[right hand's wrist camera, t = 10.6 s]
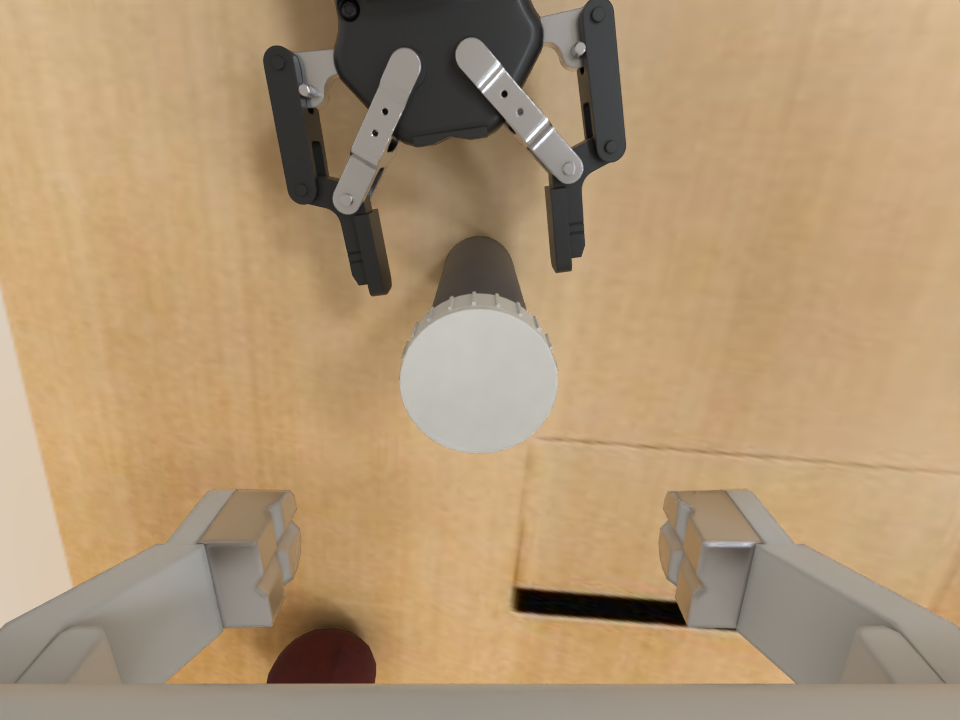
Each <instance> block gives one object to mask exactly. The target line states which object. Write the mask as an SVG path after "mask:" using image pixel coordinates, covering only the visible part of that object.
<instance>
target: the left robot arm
mask: <svg viewBox="0 0 960 720" xmlns="http://www.w3.org/2000/svg"><path fill="white" fill-rule="evenodd" d="M335 4H336V9H337V15H338V34H337V40H336V43H335V46H334V49H328V50H316V51H304V52H292V51H290V50H288V49H286V48H284V47H282V46H272V47H270V48H269V49H267V51H266V52H265V54H264V58H263V63H264V69H265V74H266V79H267V84H268V90H269V95H270V100H271V105H272V111H273V116H274V121H275V126H276V131H277V137H278V142H279V147H280V152H281V158H282V163H283V168H284V173H285V178H286V184H287V189H288V193H289V195H290V197H291V199H292V200H293V201H295V202H296V203H298V204H303V205H305V204H310V205H315V206H319V207H324V208H327V209H330V210H332V211H333V212H334V213H335V214H336V215H337V216H338V218H339V220H340V222H341V226H342V231H343V235H344V240H345V244H346V249H347V253H348V258H349V262H350V267H351V271H352V276H353V277H354V279H355V280H356V282H357V283H358V285H366V284H368V289H369V292H370V295H371V296H379V295H387V294H388V292H389V290H390V289H391V286H392V282H391V275H390V270H389V265H388V259H387V254H386V249H385V244H384V239H383V234H382V229H381V224H380V218H379V213H378V209H373V210H372V206H371V200H372V197H373V195H374V193H375V191H376V189H377V187H378V185H379V183H380V181H381V179H382V177H383V174H384V172H385V170H386V169H387V167H388V166H389V164H390V163H391V161H392V159H393V157H394V155H395V153H396V151H397V148H398V146H399V144H400V142H403V143H405V144H407V145H411V146H414V147H424V146H431V145H437V144H439V143H441V142H443V141H445V140H448V139H450V138H461V139H468V140H473V139H480V138H487V137H488V136H489V135H491V134H493V133H495V132H496V131H497V130H498V129H499V128H500V127H501V126H502V125H504V126H505V127H506V128H507V129H508V130H509V131H510V133H511V134H512V135H513V136H514V137H515V138H516V139H517V140H518V141H519V143H520V144H521V145H522V146H523V147H524V148H525V149H526V150H527V151H528V152H529V153H530V154H531V155H532V156H533V157H534V158H535V159H536V161H537V162H538V163H539V164H540V165H541V166H542V167H543V168H544V169H545V171H546V172H547V173H548V175H549V186H545V198H546V209H547V221H548V232H549V244H550V256H551V263H552V267H553V269H554V271H555V272H556V273H561V272H568V271H572V260H571V258H576V257H581V256H582V253H583V250H584V247H585V238H584V224H583V206H582V184H583V182H584V180H585V178H586V177H587V176H588V175H589V174H590V173H591V172H593V171H595V170H596V169H598V168H600V167H602V166H604V165H606V164H608V163H610V162H615V161H617V160H619V159H620V158H621V157H622V156H623V154H624V152H625V149H626V139H625V128H624V117H623V107H622V96H621V85H620V74H619V63H618V52H617V41H616V30H615V19H614V10H613V6H612V4H611V2H610V1H609V0H589V1H588V2H587V4H586V5H584V6H583V7H582V8H579V9H575V10H570V11H566V12H561V13H557V14H552V15H548V16H544V17H540V16H539V15H538V13H537V11H536V10H535V8H534V6H533V4H532V2H531V0H335ZM543 47H550V48H552V49H554V50H555V51H556V53H557V54H558V56H559V60H560V63H561V65H562V66H563V67H564V68H565V69H566V70H568V71H577V76H578V84H579V93H580V101H581V110H582V119H583V127H584V136H585V140H584V141H582V142H580V143H579V144H577V145H575V146H573V147H570V146H569V145H568V144H567V143H566V142H565V140H564V139H563V138H562V137H561V136H560V135H559V133H558V132H557V131H556V130H555V129H554V128H553V126H552V124H551V123H550V121H549V120H548V119H547V117H546V116H545V115H544V114H543V113H542V112H541V110H540V109H539V108H538V107H537V106H536V105H535V104H534V102H533V101H532V100H531V99H530V98H529V97H528V95H527V94H526V93H525V92H524V91H523V90H522V88H523V86H524V84H525V82H526V80H527V78H528V76H529V74H530V72H531V70H532V68H533V66H534V64H535V62H536V61H537V59H538V57H539V55H540V53H541V50H542V48H543ZM337 78H340V79H341V80H342V81H343V83H344V84H345V85H346V86H347V87H348V88H349V89H350V90H351V91H352V92H353V93H354V94H355V95H356V97H357V98H358V99H359V100H360V101H361V102H362V103H363V104H364V105H365V106H366V107H367V108H368V109H369V110H368V112H367V114H366V116H365V119H364V121H363V123H362V125H361V127H360V130H359V132H358V134H357V136H356V139H355V141H354V143H353V145H352V148H351V152H350V158H349V160H348V162H347V165H346V167H345V169H344V171H343V173H342V176H341V178H340V179H338V178H334V177H330V176H329V172H328V166H327V160H326V154H325V148H324V142H323V136H322V130H321V123H320V117H319V111H318V109H322V108H324V107H325V106H326V105H327V104H328V102H329V98H330V87H331V85H332V83H333V81H335V80H336V79H337Z"/></svg>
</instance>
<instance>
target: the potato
mask: <svg viewBox="0 0 960 720" xmlns="http://www.w3.org/2000/svg"><path fill="white" fill-rule="evenodd" d="M375 677H376V662H375V660H374V657H373V654H372V652H371V650H370V647H369V646H368V645H367V644H366V643H365V642H364V641H363V640H362V639H361V638H359V637H358V636H356V635H354V634H352V633H350V632H348V631H343V630H339V629H321V630H313V631H311V632H309V633H306V634H304V635H302V636H300V637H298V638H296V639H295V640H294V641H292V642H291V643H290V644H289V645H288V646H287V647H286V648H285V649H284V650H283V651H282V652H281V654H280V655H279V657H278V658H277V660H276V661H275V663H274V665H273V667H272V668H271V670H270V672H269V674H268V679H267V684H375Z"/></svg>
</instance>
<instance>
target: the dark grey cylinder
mask: <svg viewBox="0 0 960 720" xmlns="http://www.w3.org/2000/svg"><path fill="white" fill-rule="evenodd" d="M472 292H476V294H478V293H480V294H491V295H495V294H496V293H497V294H499V296H500V297H503V298H506V299H508V300H511V301H513V302H515V303H517V302H519V303H520V305H521V307H523V308H524V309H525V310H526V307H525V303H524V300H523V296H522V293H521V290H520V286H519V283H518V279H517V276H516V273H515V269H514V266H513V263H512V259H511V257H510V255H509V253H508V252H507V250H506V249H505V248H504V247H503V246H502V245H501V244H500V243H498V242H497V241H495V240H493V239H490V238H487V237H471V238H468V239H465V240H463V241H461V242H460V243H458V244H457V245H456V246H455V247H454V248H453V249H452V250H451V252H450V253H449V255H448V257H447V260H446V263H445V266H444V270H443V273H442V276H441V280H440V283H439V286H438V290H437V293H436V296H435V300H434V303H433V307H434V308H435V307H436V306H438V305H439V304H441V303H443V302H445V301H447V300H449V299H450V297H451V296H453V297H454V298H455V297H458V296H462V295H467V294H472Z"/></svg>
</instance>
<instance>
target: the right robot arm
mask: <svg viewBox="0 0 960 720" xmlns="http://www.w3.org/2000/svg"><path fill="white" fill-rule="evenodd" d="M296 510H297V507H296V502H295V496H294V494H293V493H292V492H291V491H290V490H249V489H240V490H237V489H214V490H211V491H208V492H207V493H206V494H205V495H204V497H203V498H202V499H201V500H200V501H199V503H198V504H197V505H196V506H195V508H194V509H193V510H192V511H191V513H190V514H189V515H188V516H187V518H186V519H185V520H184V521H183V522H182V524H181V525H180V526H179V527H178V529H177V530H176V531H175V532H174V534H173V535H172V536H171V537H170V539H169V540H168V541H167V542H166V543H165V544H156V545H154V546H152V547H150V548H148V549H146V550H144V551H143V552H141V553H139V554H137V555H135V556H133V557H131V558H129V559H127V560H125V561H124V562H122V563H120V564H118V565H116V566H114V567H112V568H110V569H108V570H106V571H105V572H103V573H101V574H99V575H97V576H95V577H93V578H91V579H89V580H87V581H85V582H84V583H82V584H80V585H78V586H76V587H74V588H72V589H70V590H68V591H67V592H65V593H63V594H61V595H59V596H57V597H55V598H53V599H51V600H49V601H47V602H46V603H44V604H42V605H40V606H38V607H36V608H34V609H32V610H30V611H28V612H27V613H25V614H23V615H21V616H19V617H17V618H15V619H13V620H11V621H9V622H7V623H6V624H5V625H4V626H3V627H2V628H1V629H0V720H960V628H959V627H958V626H957V625H956V624H954V623H952V622H950V621H948V620H946V619H944V618H943V617H941V616H939V615H937V614H935V613H933V612H931V611H929V610H927V609H926V608H924V607H922V606H920V605H918V604H916V603H914V602H912V601H910V600H908V599H907V598H905V597H903V596H901V595H899V594H897V593H895V592H893V591H891V590H889V589H888V588H886V587H884V586H882V585H880V584H878V583H876V582H874V581H872V580H871V579H869V578H867V577H865V576H863V575H861V574H859V573H857V572H855V571H853V570H852V569H850V568H848V567H846V566H844V565H842V564H840V563H838V562H836V561H834V560H833V559H831V558H829V557H827V556H825V555H823V554H821V553H819V552H817V551H816V550H814V549H812V548H810V547H808V546H806V545H804V544H795V543H794V542H793V541H792V540H791V539H790V537H789V536H788V535H787V534H786V532H785V531H784V530H783V529H782V527H781V526H780V525H779V524H778V523H777V521H776V520H775V519H774V518H773V516H772V515H771V514H770V513H769V511H768V510H767V509H766V508H765V507H764V505H763V504H762V503H761V502H760V500H759V499H758V498H757V497H756V495H755V494H754V493H753V492H752V491H750V490H748V489H726V490H704V491H668V492H667V494H666V497H665V500H664V507H663V510H664V512H665V514H666V516H667V518H668V521H667V522H666V523H665V524H664V525H663V526H662V527H661V528H660V535H659V555H660V561H661V565H662V569H663V571H664V573H665V576H666V578H667V580H669V581H670V582H672V583H673V584H674V585H676V586H677V588H676V594H675V599H676V601H677V603H678V606H679V608H680V610H681V612H682V615H683V617H684V619H685V621H686V623H687V626H688V627H707V628H737V630H736V631H737V632H739V633H740V634H741V635H742V636H743V637H744V638H745V639H746V640H748V641H749V642H750V643H751V644H752V645H753V646H754V647H756V648H757V649H758V650H759V651H760V652H761V653H762V654H763V655H765V656H766V657H767V658H768V659H769V660H770V661H771V662H773V663H774V664H775V665H776V666H777V667H778V668H779V669H780V670H782V671H783V672H784V673H785V674H786V675H787V676H788V677H789V678H791V679H792V680H793V681H794V682H795V683H796V684H164V683H165V682H166V681H167V680H168V679H170V678H171V677H172V676H173V675H174V674H175V673H176V672H177V671H179V670H180V669H181V668H182V667H183V666H184V665H185V664H187V663H188V662H189V661H190V660H191V659H192V658H193V657H195V656H196V655H197V654H198V653H199V652H200V651H201V650H202V649H204V648H205V647H206V646H207V645H208V644H209V643H210V642H212V641H213V640H214V639H215V638H216V637H217V636H218V635H219V634H221V633H222V632H223V628H252V627H272V626H273V624H274V621H275V619H276V617H277V615H278V612H279V610H280V608H281V606H282V603H283V601H284V599H285V594H284V588H283V586H284V585H286V584H287V583H288V582H290V581H291V580H293V578H294V576H295V573H296V571H297V568H298V565H299V560H300V554H301V534H300V528H299V527H298V526H297V525H296V524H295V523H294V522H293V521H292V518H293V516H294V514H295V512H296Z"/></svg>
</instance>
